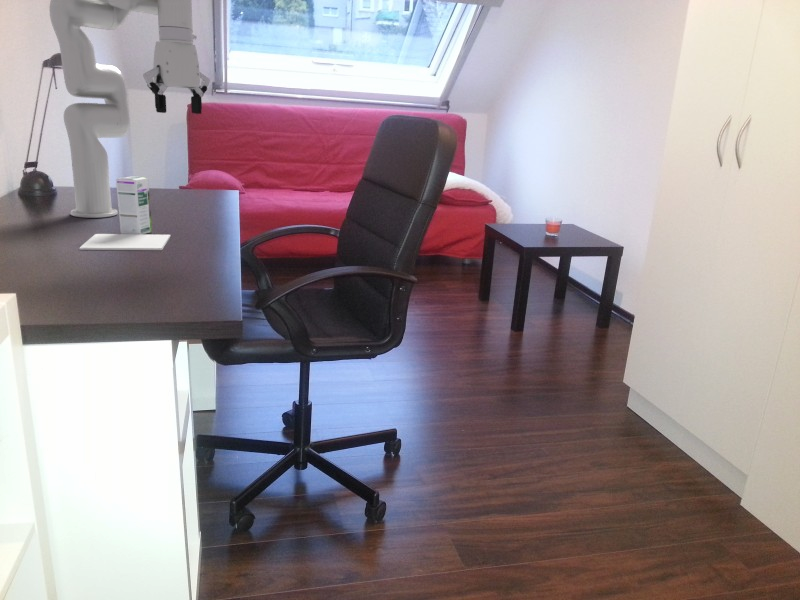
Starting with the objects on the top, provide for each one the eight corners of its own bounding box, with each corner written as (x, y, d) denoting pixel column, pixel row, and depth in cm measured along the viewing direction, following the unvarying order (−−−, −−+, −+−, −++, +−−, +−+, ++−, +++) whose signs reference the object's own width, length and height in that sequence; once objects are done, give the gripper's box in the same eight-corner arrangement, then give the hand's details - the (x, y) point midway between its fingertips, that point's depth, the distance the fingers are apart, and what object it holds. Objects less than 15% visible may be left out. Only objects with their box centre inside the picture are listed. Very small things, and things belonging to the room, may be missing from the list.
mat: (95, 235, 164) (95, 233, 164) (170, 236, 168) (170, 234, 167) (79, 249, 149) (79, 247, 149) (161, 250, 153) (161, 248, 152)
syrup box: (140, 236, 166) (136, 179, 162) (119, 234, 167) (115, 177, 163) (152, 232, 171) (149, 177, 167) (132, 230, 173) (128, 175, 168)
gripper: (197, 41, 159) (200, 113, 164) (132, 32, 146) (137, 111, 151) (216, 40, 155) (218, 114, 160) (151, 32, 142) (155, 113, 147)
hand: (179, 113), depth 156 cm, fingers open, 9 cm apart
